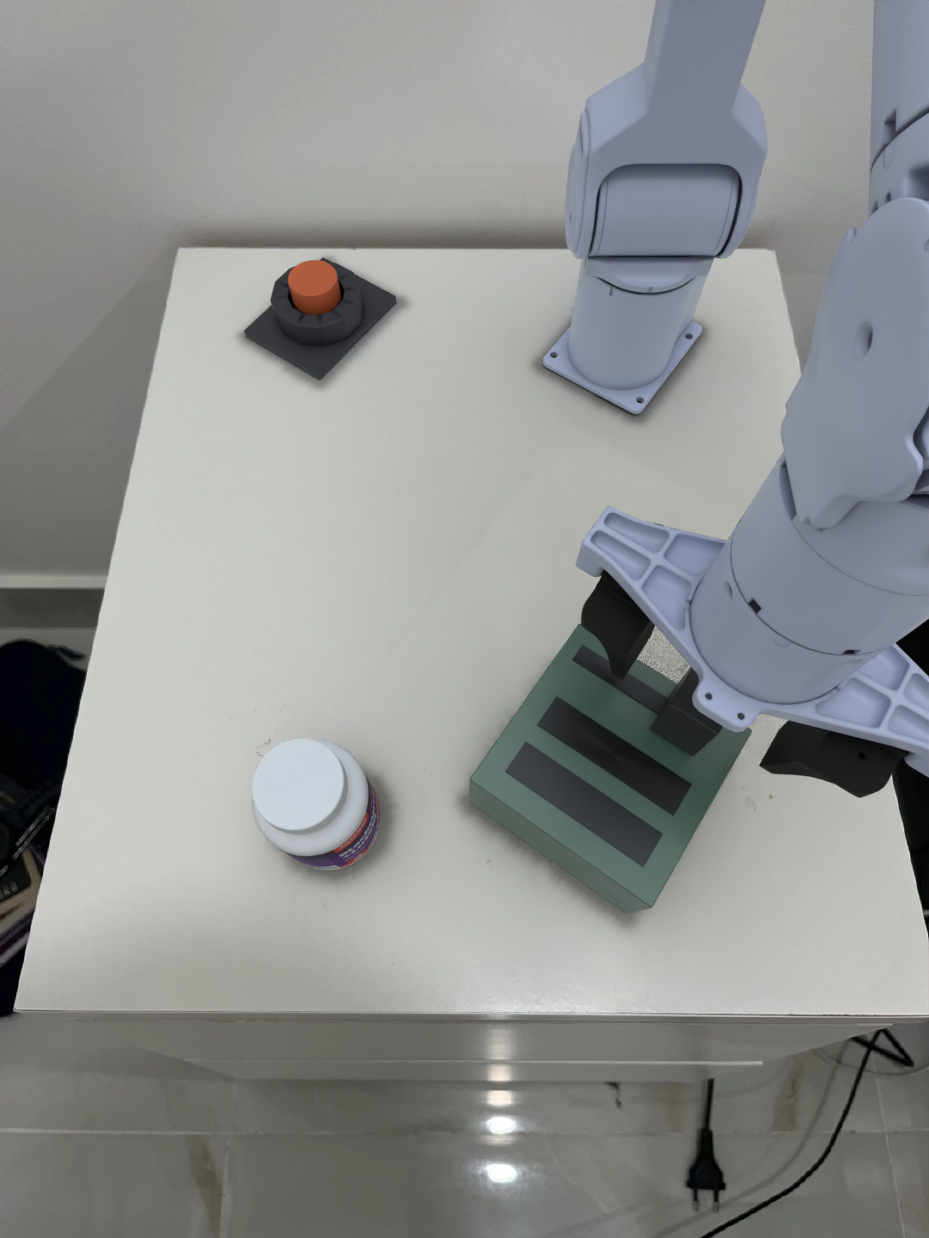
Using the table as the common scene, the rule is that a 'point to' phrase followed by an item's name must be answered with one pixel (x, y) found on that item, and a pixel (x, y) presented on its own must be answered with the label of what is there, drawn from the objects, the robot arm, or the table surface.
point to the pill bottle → (315, 803)
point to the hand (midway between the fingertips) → (699, 704)
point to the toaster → (601, 775)
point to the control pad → (319, 323)
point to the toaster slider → (685, 718)
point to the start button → (314, 287)
